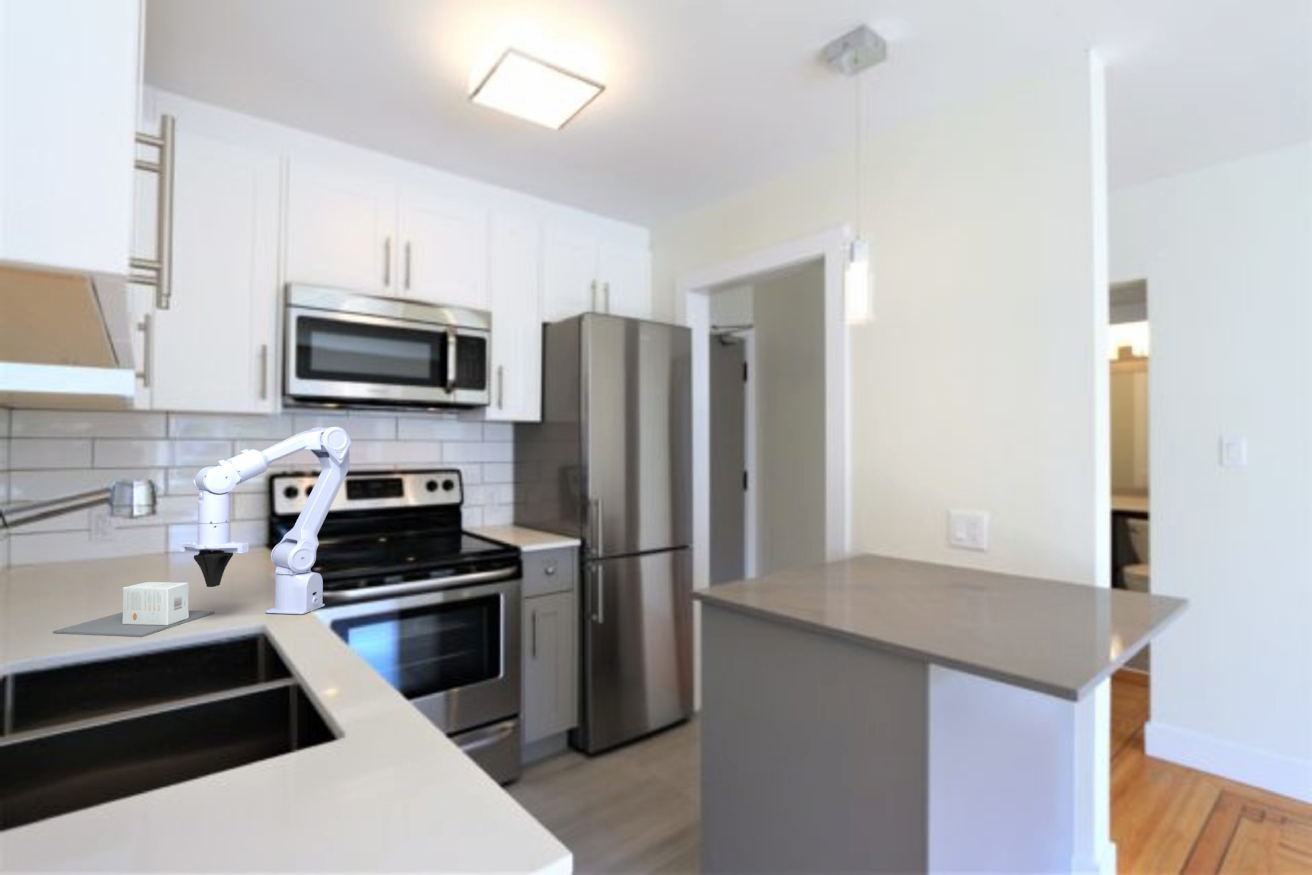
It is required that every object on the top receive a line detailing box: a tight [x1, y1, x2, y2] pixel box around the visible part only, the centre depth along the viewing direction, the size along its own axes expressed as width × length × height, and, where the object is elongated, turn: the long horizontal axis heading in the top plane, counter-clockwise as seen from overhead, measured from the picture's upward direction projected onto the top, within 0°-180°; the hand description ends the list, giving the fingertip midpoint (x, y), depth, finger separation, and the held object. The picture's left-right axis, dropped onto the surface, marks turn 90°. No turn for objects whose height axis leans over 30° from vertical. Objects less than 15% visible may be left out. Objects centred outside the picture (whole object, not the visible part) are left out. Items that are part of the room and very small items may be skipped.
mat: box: [52, 609, 216, 638], centre depth 135 cm, size 20×18×1 cm
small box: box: [122, 581, 190, 626], centre depth 134 cm, size 8×6×10 cm
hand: (213, 586), depth 133 cm, fingers closed
